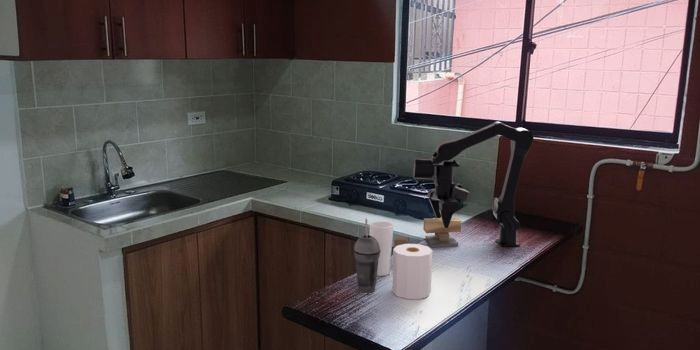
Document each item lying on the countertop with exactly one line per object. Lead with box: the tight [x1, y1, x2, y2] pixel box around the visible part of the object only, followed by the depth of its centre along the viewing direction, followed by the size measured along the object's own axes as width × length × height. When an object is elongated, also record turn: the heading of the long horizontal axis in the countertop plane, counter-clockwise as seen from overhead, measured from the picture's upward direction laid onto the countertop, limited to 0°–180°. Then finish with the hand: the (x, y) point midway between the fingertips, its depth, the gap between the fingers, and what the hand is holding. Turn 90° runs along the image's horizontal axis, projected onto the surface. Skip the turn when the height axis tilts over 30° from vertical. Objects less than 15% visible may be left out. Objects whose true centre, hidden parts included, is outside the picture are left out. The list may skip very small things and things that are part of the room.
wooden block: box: [393, 235, 410, 249], centre depth 176 cm, size 4×4×8 cm
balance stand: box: [424, 233, 459, 248], centre depth 196 cm, size 9×9×4 cm
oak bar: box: [422, 217, 462, 234], centre depth 196 cm, size 4×12×4 cm, turn 98°
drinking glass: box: [368, 220, 394, 277], centre depth 167 cm, size 7×7×15 cm
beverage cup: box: [353, 218, 381, 295], centre depth 154 cm, size 7×7×20 cm
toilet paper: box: [391, 243, 433, 300], centre depth 154 cm, size 10×10×12 cm
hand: (442, 223), depth 196 cm, fingers open, 9 cm apart
